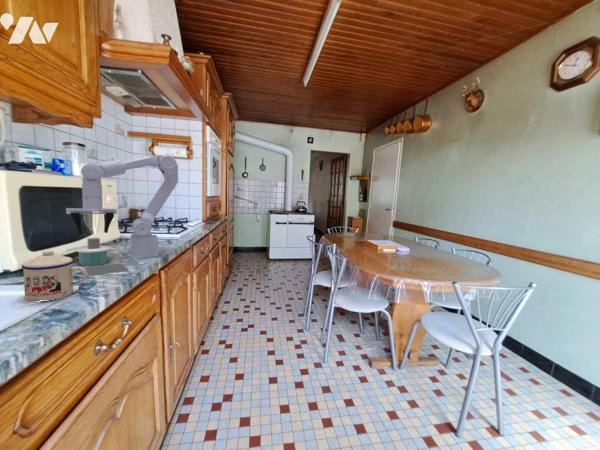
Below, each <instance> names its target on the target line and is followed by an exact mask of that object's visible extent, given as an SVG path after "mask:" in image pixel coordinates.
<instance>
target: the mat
mask: <svg viewBox="0 0 600 450" xmlns="http://www.w3.org/2000/svg"><path fill="white" fill-rule="evenodd" d="M84 269H85V270H86V271H87V275H88V276H89V277H94V276H100V275H101V276H102V275H107V274H113V273H115V274H116V273H121V272H127V271H130V269H128V268H127V267H126V266H125V265H124V264H123V263H114V264H104V265H96V266H88V267H84Z"/></svg>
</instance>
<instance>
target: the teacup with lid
mask: <svg viewBox="0 0 600 450" xmlns="http://www.w3.org/2000/svg"><path fill="white" fill-rule="evenodd" d="M73 263H74V260H73V258H72V257H70V256H64V255H61V254H58V253H57V254H56V253H55V252H54V250H52V249H51V250H44V251H42V254H41V255H38V256H36V257H35V258H32V259H29V260H26V261H25V262H23V263H22V265H21V268H22V269H23V271H22V272H23V284H24V285H23V286H24V287H23V289H24V300H25V301H26V302H31V301H40V300H52V299H56V300H55V301H57V300H61V299H63V298H68V297H67V296H70V295H71V294H72V293H73V292H74V287H75V286H79V285H81V284H82V283H83V282H85V281H86V279H87V276H88V273H87V271H86V270H85V267H82V266H73ZM73 270H74V271H80V272H81V274H82V278H81V279H80V281H76V282H74V276H73V272H74V271H73Z"/></svg>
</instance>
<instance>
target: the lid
mask: <svg viewBox="0 0 600 450" xmlns="http://www.w3.org/2000/svg"><path fill="white" fill-rule="evenodd" d="M100 241H101V239H100V238H99V237H88V238H87V245H85V246H78V247H76V248H75V249H74V250H75V252H76V253H79V252H80V253H95V252H103V251H107V252H108V251H111V249H112V246H111V245H105V244H104V245H103V244H101V243H100Z"/></svg>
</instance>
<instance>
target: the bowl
mask: <svg viewBox="0 0 600 450" xmlns="http://www.w3.org/2000/svg"><path fill="white" fill-rule="evenodd" d="M78 258H79V259H78V260H79V265H80V266H81V267H82V266H84V267H95V266H102V265H105V264H106V263H107V262H108V251H103V252H95V253H80V252H78Z"/></svg>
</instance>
